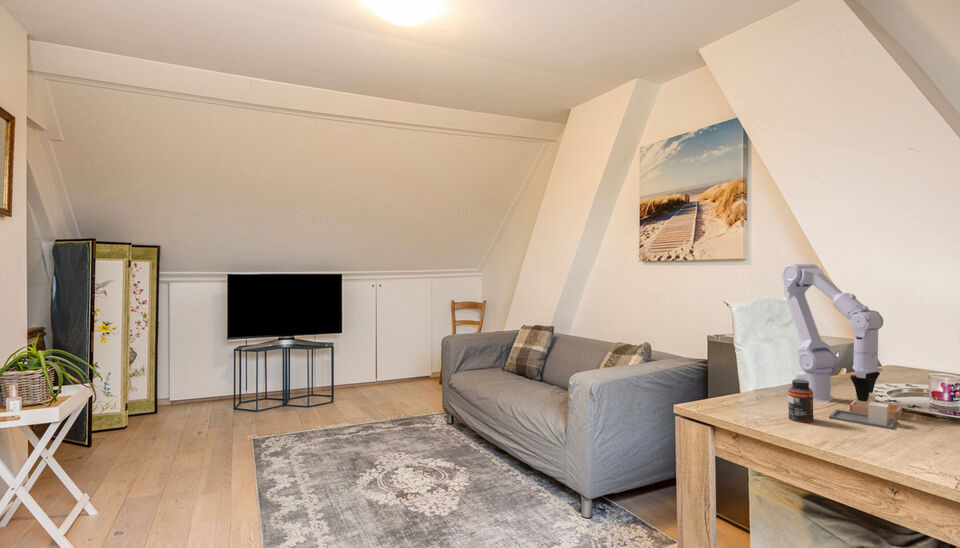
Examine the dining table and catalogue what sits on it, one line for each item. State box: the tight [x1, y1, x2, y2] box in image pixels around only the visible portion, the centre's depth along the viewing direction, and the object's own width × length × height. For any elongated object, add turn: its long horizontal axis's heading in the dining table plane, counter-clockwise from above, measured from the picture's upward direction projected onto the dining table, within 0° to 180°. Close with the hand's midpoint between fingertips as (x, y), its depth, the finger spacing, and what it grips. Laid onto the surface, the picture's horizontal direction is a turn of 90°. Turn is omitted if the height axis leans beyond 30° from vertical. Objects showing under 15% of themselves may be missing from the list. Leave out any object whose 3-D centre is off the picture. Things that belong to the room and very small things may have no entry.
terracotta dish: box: [849, 398, 903, 421], centre depth 151 cm, size 11×9×2 cm
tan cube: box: [855, 392, 876, 407], centre depth 153 cm, size 4×4×5 cm
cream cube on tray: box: [868, 401, 890, 426], centre depth 142 cm, size 4×4×5 cm
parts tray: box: [828, 409, 898, 430], centre depth 144 cm, size 14×9×1 cm, turn 46°
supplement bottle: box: [787, 379, 814, 424], centre depth 145 cm, size 6×6×11 cm
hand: (864, 398), depth 153 cm, fingers open, 7 cm apart
